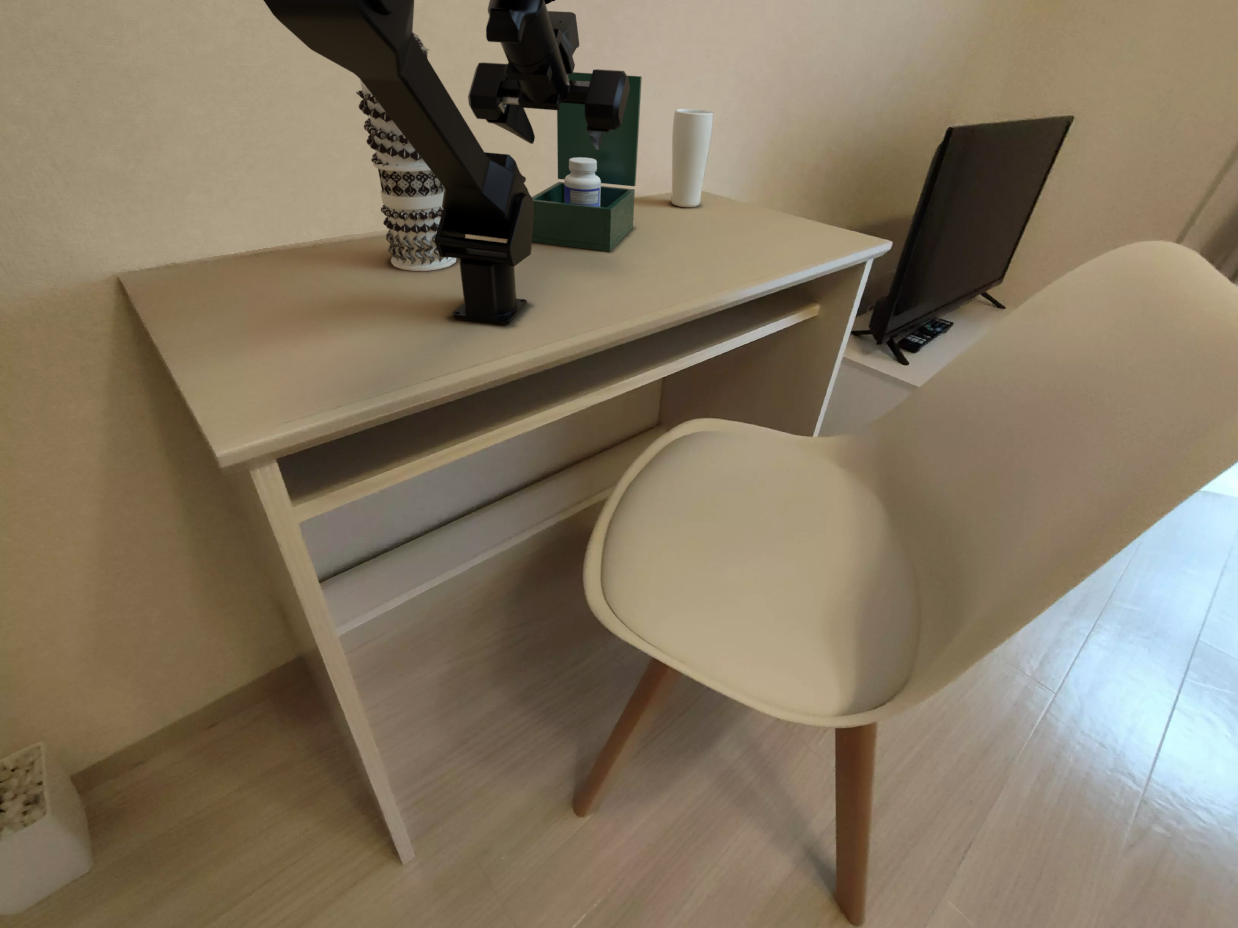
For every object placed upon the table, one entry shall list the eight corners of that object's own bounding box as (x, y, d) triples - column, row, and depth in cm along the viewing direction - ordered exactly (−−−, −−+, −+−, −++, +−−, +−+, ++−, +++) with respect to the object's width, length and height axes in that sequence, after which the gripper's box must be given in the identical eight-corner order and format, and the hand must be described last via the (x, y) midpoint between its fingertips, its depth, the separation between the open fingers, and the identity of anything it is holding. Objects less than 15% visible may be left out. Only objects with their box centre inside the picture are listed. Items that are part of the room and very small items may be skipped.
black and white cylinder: (372, 264, 79) (324, 29, 65) (420, 246, 86) (387, 30, 72) (428, 276, 76) (391, 33, 62) (473, 257, 83) (449, 33, 69)
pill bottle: (567, 223, 96) (567, 155, 90) (602, 225, 95) (603, 157, 90) (561, 233, 91) (560, 162, 86) (597, 235, 91) (598, 164, 85)
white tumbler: (660, 201, 113) (667, 109, 104) (691, 199, 116) (700, 108, 107) (678, 210, 108) (686, 114, 100) (710, 207, 111) (721, 113, 102)
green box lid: (640, 76, 86) (647, 76, 90) (556, 71, 89) (566, 71, 92) (634, 186, 94) (641, 182, 98) (557, 179, 97) (566, 175, 100)
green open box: (609, 251, 87) (610, 209, 84) (528, 241, 90) (525, 200, 86) (633, 227, 98) (634, 189, 95) (559, 219, 101) (558, 181, 97)
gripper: (629, -19, 64) (647, 94, 79) (468, -24, 68) (514, 85, 83) (607, 73, 63) (629, 171, 78) (442, 63, 66) (494, 158, 81)
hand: (565, 143), depth 80 cm, fingers open, 9 cm apart
